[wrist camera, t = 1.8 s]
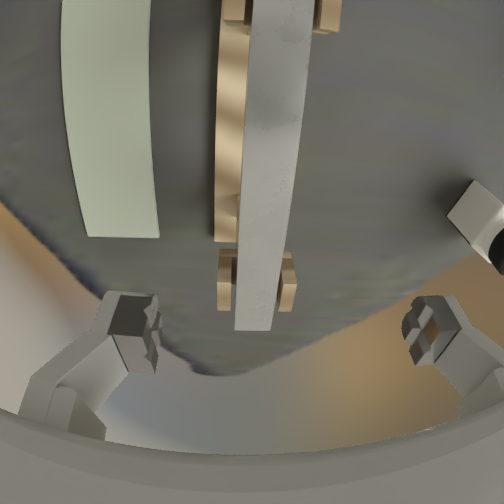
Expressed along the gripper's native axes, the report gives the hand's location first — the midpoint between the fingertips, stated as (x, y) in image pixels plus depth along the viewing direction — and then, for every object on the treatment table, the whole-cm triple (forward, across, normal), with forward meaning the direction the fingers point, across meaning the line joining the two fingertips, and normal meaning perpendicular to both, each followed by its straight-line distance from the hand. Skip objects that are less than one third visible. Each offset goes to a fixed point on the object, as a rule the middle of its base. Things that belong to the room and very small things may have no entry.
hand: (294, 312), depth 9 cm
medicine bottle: (+26, -32, +8) cm, 42 cm away
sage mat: (+25, +16, 0) cm, 30 cm away
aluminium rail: (+13, 0, 0) cm, 13 cm away
